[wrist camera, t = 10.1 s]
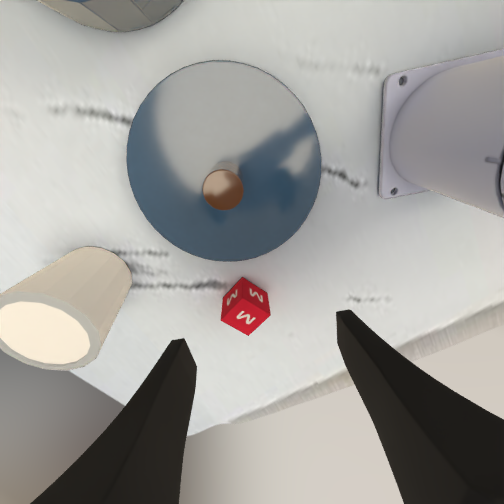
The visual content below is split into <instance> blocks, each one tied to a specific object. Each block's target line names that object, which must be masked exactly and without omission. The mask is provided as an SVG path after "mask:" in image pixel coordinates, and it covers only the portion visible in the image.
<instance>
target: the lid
mask: <svg viewBox="0 0 504 504" xmlns="http://www.w3.org/2000/svg"><path fill="white" fill-rule="evenodd" d="M127 170H128V176H129V181H130V185H131V188H132V191H133V194H134V197H135V199H136V201H137V203H138V205H139V207H140V209H141V211H142V212H143V214H144V215H145V217H146V218H147V220H148V221H149V222H150V223H151V225H152V226H153V227H154V228H155V229H156V230H157V231H158V232H159V233H160V234H161V235H162V236H163V237H164V238H165V239H167V240H168V241H169V242H171V243H172V244H173V245H175V246H177V247H178V248H180V249H182V250H183V251H186V252H188V253H190V254H192V255H195V256H198V257H201V258H204V259H209V260H214V261H224V262H226V261H242V260H248V259H252V258H256V257H258V256H261V255H264V254H266V253H268V252H270V251H272V250H274V249H276V248H277V247H279V246H280V245H282V244H283V243H284V242H286V241H287V240H288V239H289V238H290V237H291V236H293V234H294V233H295V232H296V231H297V230H298V229H299V228H300V227H301V225H302V224H303V222H304V221H305V220H306V218H307V216H308V215H309V213H310V211H311V209H312V207H313V204H314V202H315V199H316V197H317V193H318V189H319V185H320V178H321V153H320V145H319V141H318V137H317V133H316V131H315V128H314V126H313V123H312V121H311V118H310V117H309V115H308V113H307V111H306V110H305V108H304V106H303V105H302V104H301V102H300V101H299V100H298V98H297V97H296V96H295V95H294V94H293V93H292V92H291V91H290V90H289V89H288V88H287V87H286V86H285V85H284V84H283V83H282V82H280V81H279V80H277V79H276V78H275V77H273V76H272V75H270V74H268V73H266V72H265V71H263V70H261V69H259V68H256V67H253V66H250V65H247V64H245V63H240V62H234V61H225V60H212V61H206V62H199V63H196V64H192V65H189V66H186V67H183V68H182V69H180V70H178V71H176V72H174V73H172V74H170V75H169V76H168V77H166V78H165V79H164V80H162V81H161V82H160V83H158V84H157V85H156V86H155V87H154V89H153V90H152V91H151V92H150V93H149V94H148V95H147V97H146V98H145V99H144V101H143V102H142V104H141V105H140V107H139V109H138V111H137V113H136V115H135V117H134V119H133V122H132V126H131V129H130V132H129V137H128V143H127Z"/></svg>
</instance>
